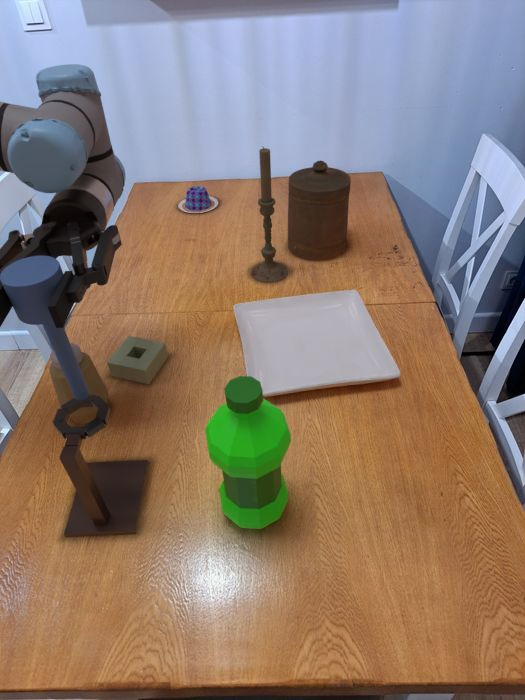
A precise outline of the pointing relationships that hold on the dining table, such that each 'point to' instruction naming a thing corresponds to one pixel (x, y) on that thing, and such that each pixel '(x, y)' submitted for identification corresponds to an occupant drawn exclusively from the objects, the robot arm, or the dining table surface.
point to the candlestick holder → (267, 227)
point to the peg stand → (99, 478)
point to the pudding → (197, 200)
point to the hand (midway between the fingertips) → (22, 318)
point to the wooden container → (318, 212)
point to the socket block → (138, 359)
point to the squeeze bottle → (90, 378)
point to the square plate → (312, 343)
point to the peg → (43, 310)
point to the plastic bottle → (249, 454)
